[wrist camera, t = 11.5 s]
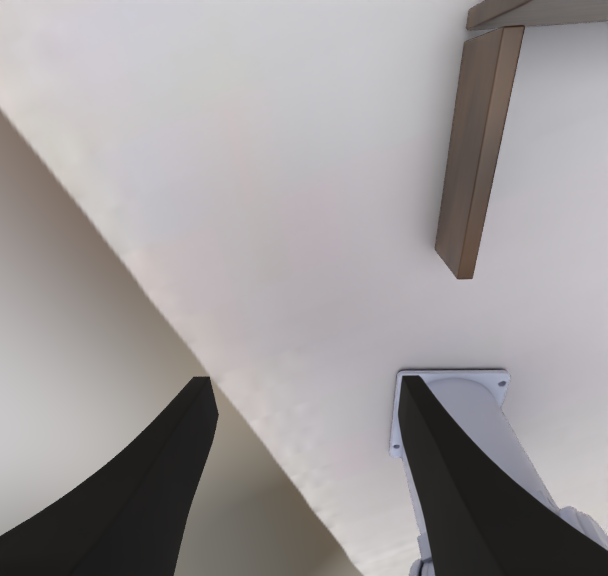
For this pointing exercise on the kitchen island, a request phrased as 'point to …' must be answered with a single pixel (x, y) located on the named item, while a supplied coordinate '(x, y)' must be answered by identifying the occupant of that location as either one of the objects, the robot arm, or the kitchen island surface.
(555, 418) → the kitchen island surface
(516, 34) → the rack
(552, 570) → the robot arm
